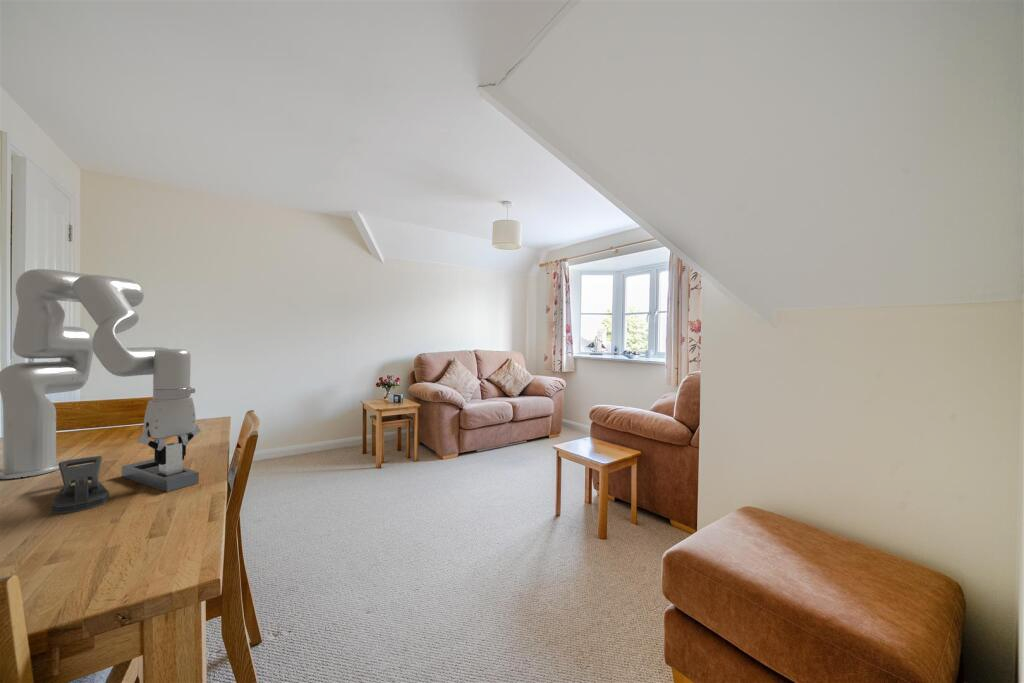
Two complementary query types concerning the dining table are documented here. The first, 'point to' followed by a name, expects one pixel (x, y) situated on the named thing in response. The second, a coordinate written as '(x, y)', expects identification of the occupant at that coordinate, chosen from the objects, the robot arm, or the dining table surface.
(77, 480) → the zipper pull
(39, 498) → the dining table surface
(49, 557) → the dining table surface
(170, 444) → the grey tall square block
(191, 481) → the rail
